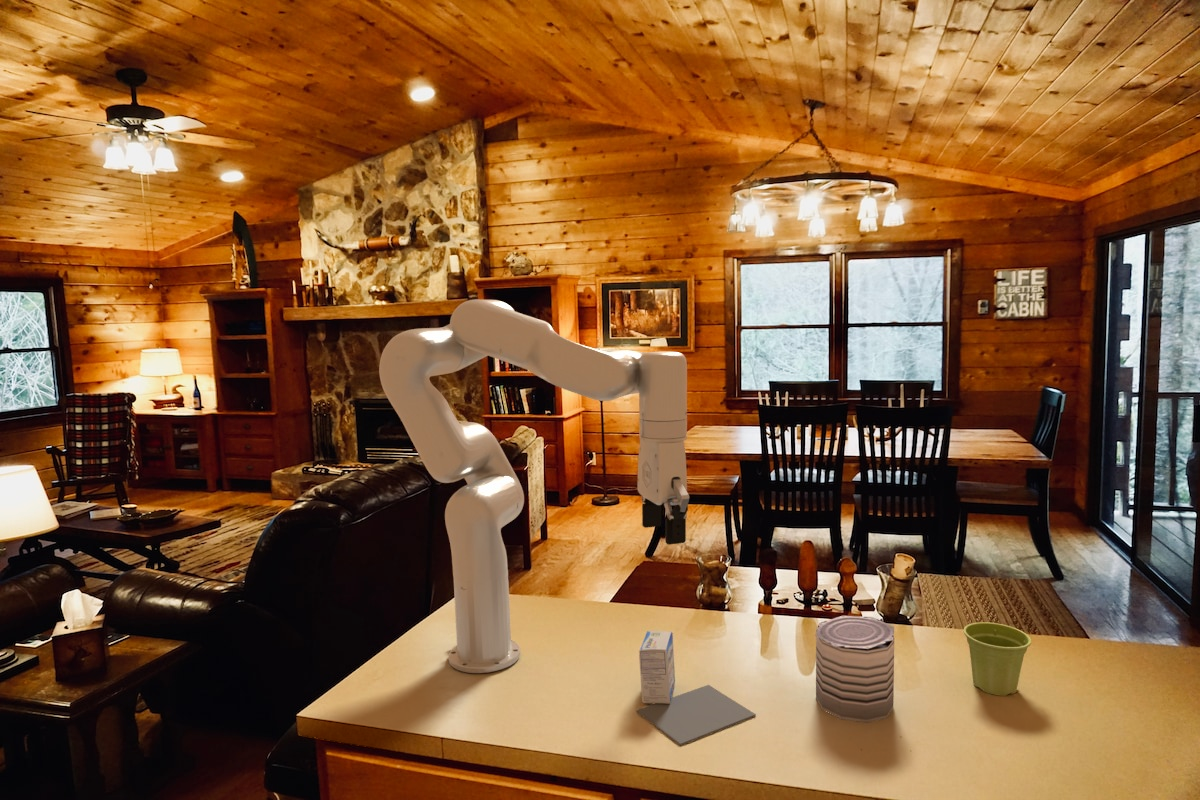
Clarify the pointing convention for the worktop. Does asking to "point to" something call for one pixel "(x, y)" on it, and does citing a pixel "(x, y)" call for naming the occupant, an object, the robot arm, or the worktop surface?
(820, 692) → the can
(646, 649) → the medicine box
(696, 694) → the mat
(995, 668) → the plant pot
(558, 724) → the worktop surface
